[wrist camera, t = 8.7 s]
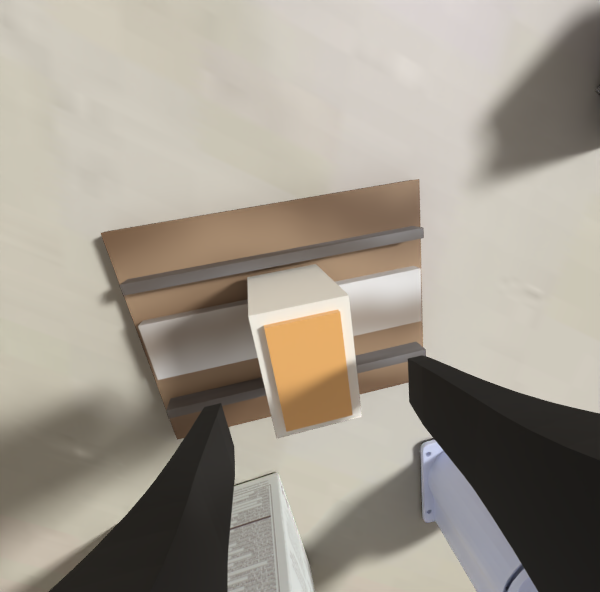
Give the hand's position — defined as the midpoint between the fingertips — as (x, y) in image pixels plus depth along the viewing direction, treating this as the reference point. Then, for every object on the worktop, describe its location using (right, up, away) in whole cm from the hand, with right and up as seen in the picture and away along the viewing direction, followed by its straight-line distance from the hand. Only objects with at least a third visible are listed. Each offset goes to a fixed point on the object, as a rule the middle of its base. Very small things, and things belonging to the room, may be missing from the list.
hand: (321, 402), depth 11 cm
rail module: (-1, +3, +7) cm, 8 cm away
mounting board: (-2, +3, +9) cm, 9 cm away
